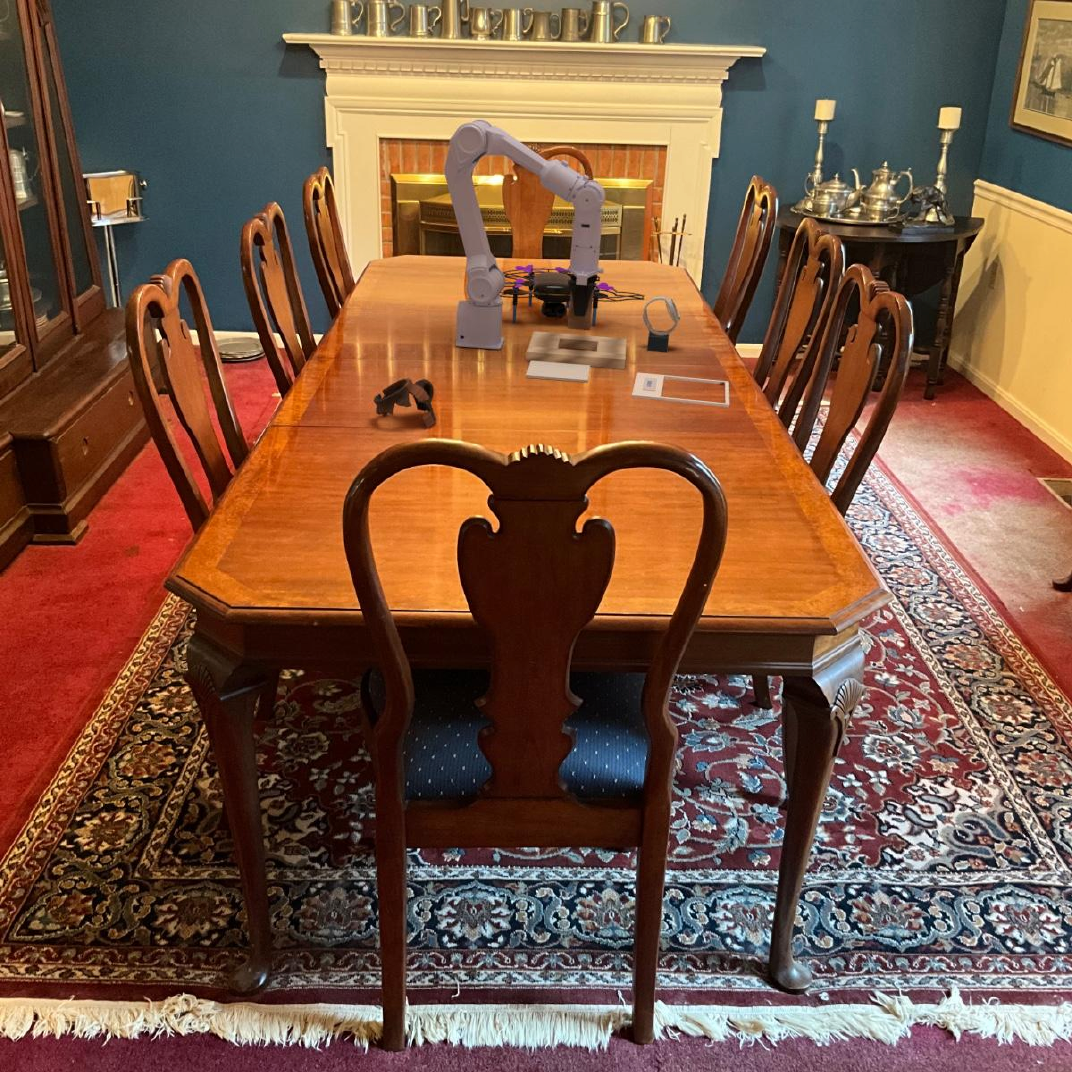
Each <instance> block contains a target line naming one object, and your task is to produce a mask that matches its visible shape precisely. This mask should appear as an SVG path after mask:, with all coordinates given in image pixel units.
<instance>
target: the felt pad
mask: <svg viewBox="0 0 1072 1072" xmlns="http://www.w3.org/2000/svg"><path fill="white" fill-rule="evenodd" d="M590 369H591V366H590V365H579V364H567V363H555V362H542V361H529V365H528V368H527V371H526V374H525V378H527V379H539V380H552V381H561V382H562V381H563V382H564V381H565V382H575V383H588V382H589V375H590Z"/></svg>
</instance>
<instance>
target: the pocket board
mask: <svg viewBox="0 0 1072 1072" xmlns="http://www.w3.org/2000/svg"><path fill="white" fill-rule="evenodd" d="M560 347H562V348H560ZM626 354H627V338H621V337H611V336H597V335H596V336H595V335H584V334H571V333H559V332H558V333H557V332H547V331H546V332H545V331H537V330H536V331H535V330H534V331H533V333H532V335H531V338H530V341H529V344H528V347H527V350H526V356H525V357H526V358H525V359H526V360H525V361H526V362H530V361H542V362H555V363H567V364H579V365H590V367H594V368H595V367H596V368H606V369H618V370H619V369H620V370H625V369H626V358H627V355H626Z"/></svg>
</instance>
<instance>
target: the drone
mask: <svg viewBox="0 0 1072 1072" xmlns="http://www.w3.org/2000/svg"><path fill="white" fill-rule="evenodd" d="M544 270H546V271H544ZM518 271H519V272H518ZM555 271H556V272H555ZM502 272H503V274H504V276H505V287H504V288H507V289H503V290H502V291H501V293H500V296H501V298H508V299H509V298H511V299H512V320H511V321H512V323H513V324H516V323H517V307H518V301H519V300H518V299H528V301H527V302H528V303H527V304H528V306H527V307H528V308H532V305H533V303H532V302H533V298H536V299H537V300H540V301H542V304H541V314H542V315H543V316H544V317H545V318H547V319H563V318H565V317H566V316H567V314H568V310H569V306H570V293H571V290H570V287H569V285H568V280H571V278H570V274H572V273H571V272H570V271H569V267H568V268H567V269H566V268H564V267H560V266H556V267H554V268H545V267H537V268H535V267H534V265H533V264H528V265H526V266H521V265H517V266H516V265H515V269H512V270H511V269H510V270H506V271H502ZM510 272H512V273H510ZM520 274H528V275H523V276H521V275H520ZM506 278H507V279H511V280H515V281H509V280H507V279H506ZM524 279H525V280H524ZM600 279H601V276H599V275H598V277H597V280H596V281H595V282H600V283H599V284H598V283H596V286H595V288H594V291H593V303H592V316H591V326H592V327H596V320H597V310H598V308H599V307H598V305H599V302H603V303H604V302H605V303H608V302H609V303H610V302H611V303H612V302H614V303H615V302H617V303H618V302H623V301H641V300H642V301H645V298H644V297H645V296H646V295H644V294H641V293H636V292H629V291H618V290H617V289H615V287H614V286H610V285H609V284H608V283H607V282H601V280H600ZM523 286H524V287H528V290H525V289H520V288H521V287H523ZM604 292H607V293H610V294H612V295H614V296H609V295H608V294H606V293H604ZM622 294H623V295H622ZM625 294H629V295H625ZM525 295H526V296H525ZM527 295H528V296H527ZM622 298H624V299H622ZM605 299H606V300H605ZM617 299H619V300H617Z"/></svg>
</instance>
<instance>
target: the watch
mask: <svg viewBox="0 0 1072 1072" xmlns="http://www.w3.org/2000/svg"><path fill="white" fill-rule="evenodd" d="M656 301H664V303H665V308H666V309H667V311H668V315H669V318H671V320H672V321H673V322H674V325H673V326H672V327H671V328H669V329H668V330H656V329H654V328H653V325H652V323H650V320H649V317H648V314H647V311H648V310H647V308H648V306H649V305H650V304H652V303H653V302H656ZM642 318H643V322H644V324H645V327H646V329H647V331H648V338H647V347H646V351H651V352H659V353H660V352H661V353H668V348H669V343H670V334H671V333H673V332H674V331H675V330H676V328H677V327H678V324H679V323H678V322H679V321H681V316H680V313H679V311H678V308H677V305H676V304H675V302H674V300H673V299H672V298H669V297H667V296H665V295H664V296H663V295H659V296H655V297H652V298H651V299H649V300H648V301H647V303H645V306H644V308H643V312H642Z"/></svg>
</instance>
